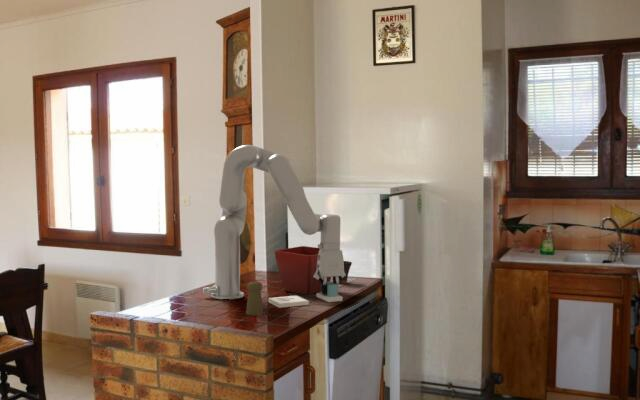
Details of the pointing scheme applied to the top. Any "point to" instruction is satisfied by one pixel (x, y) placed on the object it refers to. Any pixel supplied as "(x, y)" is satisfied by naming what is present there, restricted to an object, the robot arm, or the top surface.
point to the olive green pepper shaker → (254, 299)
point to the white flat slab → (288, 301)
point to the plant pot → (299, 269)
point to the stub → (330, 293)
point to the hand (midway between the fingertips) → (329, 293)
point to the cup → (346, 270)
